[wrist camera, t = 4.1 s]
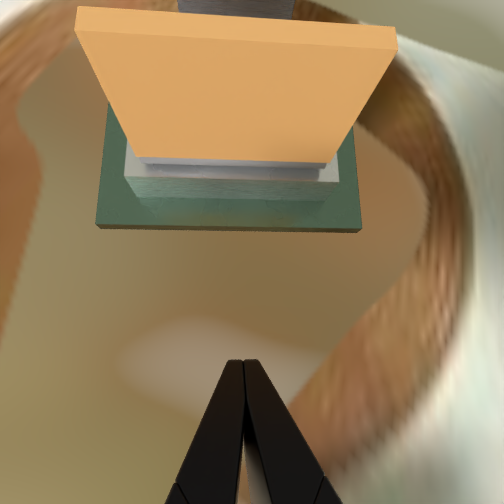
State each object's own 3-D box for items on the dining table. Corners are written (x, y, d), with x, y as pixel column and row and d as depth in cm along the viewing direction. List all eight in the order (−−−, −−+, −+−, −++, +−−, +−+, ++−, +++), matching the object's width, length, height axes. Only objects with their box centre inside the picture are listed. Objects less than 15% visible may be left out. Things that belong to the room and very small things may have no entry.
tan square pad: (324, 171, 21) (398, 49, 12) (140, 166, 20) (74, 30, 11) (323, 157, 21) (395, 27, 12) (141, 151, 20) (77, 5, 11)
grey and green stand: (356, 232, 25) (454, 155, 14) (100, 228, 23) (-2, 139, 13) (340, 51, 28) (408, -115, 18) (120, 38, 27) (55, -151, 17)
